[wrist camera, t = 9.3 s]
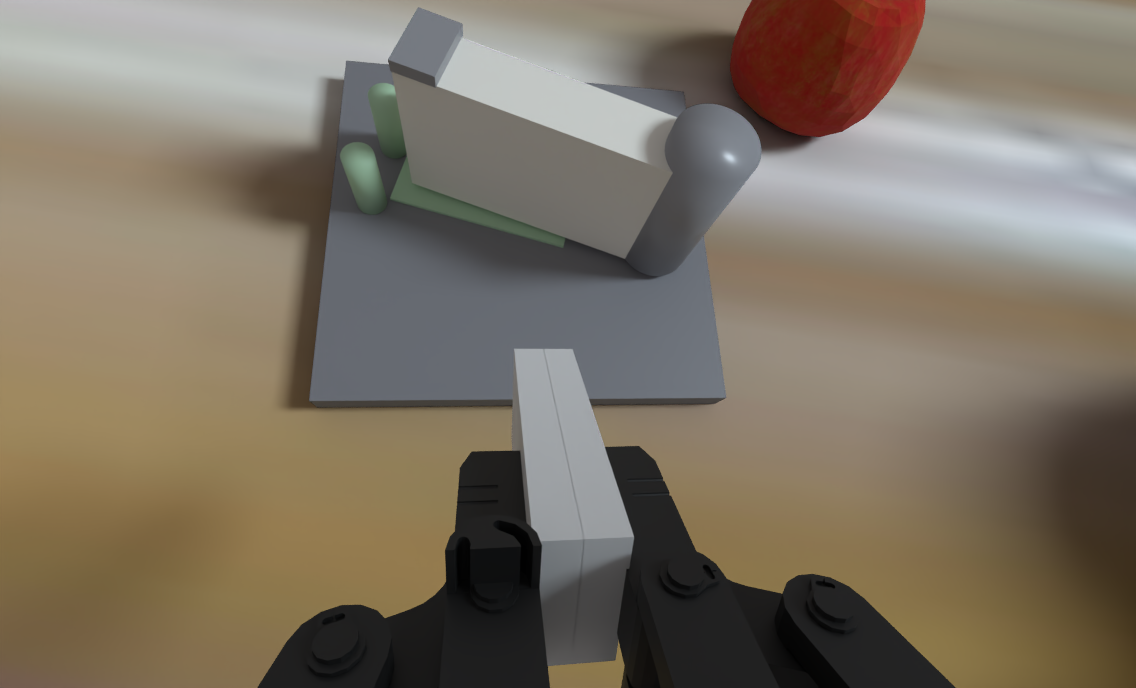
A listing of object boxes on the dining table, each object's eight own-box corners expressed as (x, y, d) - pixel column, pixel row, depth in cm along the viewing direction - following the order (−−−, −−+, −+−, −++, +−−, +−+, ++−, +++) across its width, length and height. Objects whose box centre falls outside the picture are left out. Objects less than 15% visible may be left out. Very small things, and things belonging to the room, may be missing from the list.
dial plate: (675, 107, 38) (707, 41, 32) (715, 403, 31) (762, 379, 26) (351, 80, 34) (329, 0, 29) (317, 407, 27) (281, 379, 22)
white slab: (691, 228, 32) (768, 122, 24) (677, 285, 31) (752, 194, 22) (435, 135, 31) (421, -8, 23) (408, 190, 30) (382, 58, 22)
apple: (705, 133, 37) (789, -9, 27) (720, 22, 41) (799, -139, 31) (849, 174, 38) (980, 50, 28) (850, 62, 42) (967, -82, 32)
